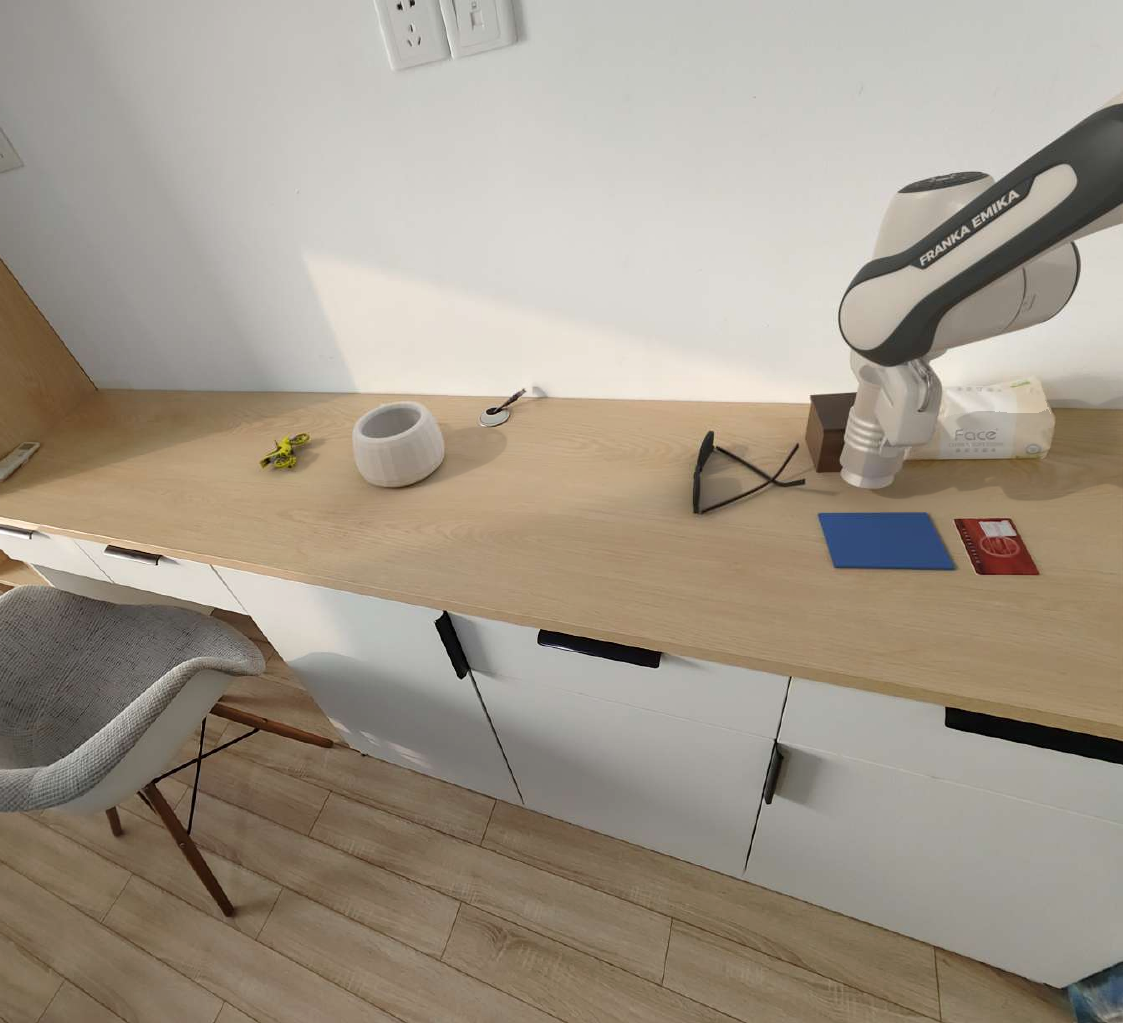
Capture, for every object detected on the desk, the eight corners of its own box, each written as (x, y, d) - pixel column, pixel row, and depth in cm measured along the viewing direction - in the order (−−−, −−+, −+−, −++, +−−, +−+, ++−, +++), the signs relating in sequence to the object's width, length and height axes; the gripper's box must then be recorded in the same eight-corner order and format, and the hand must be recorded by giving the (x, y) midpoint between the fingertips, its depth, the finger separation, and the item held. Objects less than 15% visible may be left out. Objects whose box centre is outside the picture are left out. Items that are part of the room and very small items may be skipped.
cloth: (925, 514, 77) (926, 512, 77) (954, 570, 70) (955, 567, 70) (817, 514, 81) (818, 512, 81) (834, 567, 74) (834, 565, 74)
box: (874, 434, 91) (885, 390, 87) (892, 471, 85) (905, 425, 80) (803, 437, 94) (810, 394, 90) (815, 473, 88) (823, 429, 83)
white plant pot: (458, 473, 108) (446, 425, 101) (368, 504, 106) (351, 457, 100) (430, 421, 125) (418, 377, 118) (352, 446, 123) (336, 403, 117)
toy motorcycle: (284, 459, 118) (253, 461, 120) (291, 474, 120) (261, 476, 122) (308, 425, 126) (279, 428, 129) (315, 441, 129) (287, 443, 131)
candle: (856, 453, 84) (880, 354, 75) (910, 473, 79) (943, 369, 70) (824, 475, 82) (844, 376, 73) (877, 497, 77) (906, 393, 68)
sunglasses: (799, 528, 80) (805, 498, 77) (684, 514, 87) (684, 487, 84) (804, 455, 91) (809, 427, 88) (701, 448, 98) (702, 422, 95)
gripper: (973, 374, 60) (935, 484, 68) (908, 294, 75) (883, 393, 83) (897, 379, 62) (869, 486, 70) (849, 301, 77) (830, 397, 85)
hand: (876, 435), depth 77 cm, fingers closed on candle, 7 cm apart
